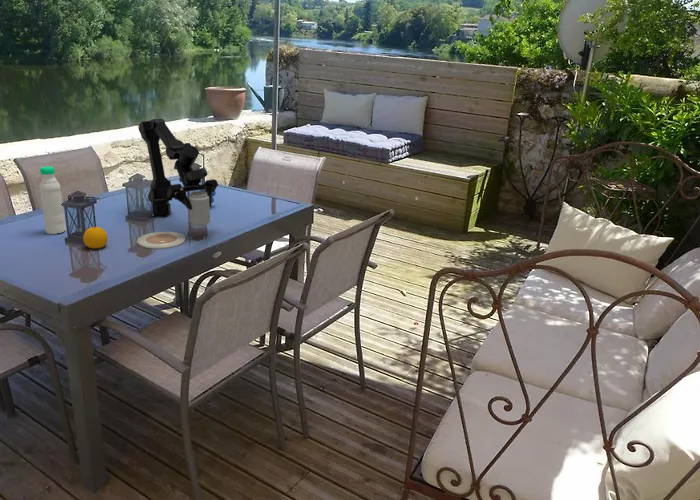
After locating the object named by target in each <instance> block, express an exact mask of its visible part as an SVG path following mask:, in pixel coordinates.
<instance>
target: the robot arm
mask: <svg viewBox="0 0 700 500" xmlns="http://www.w3.org/2000/svg"><path fill="white" fill-rule="evenodd" d="M138 131H139V133H140V137H141V139H142V140H143V141H144V142H145V143H146V148H147V151H148V157H149V163H150V168H151V173H152V180H151V183H150V190H149V192H148V194H147V199H148V201H149V202H150V203H151V206H152V207H151V208H152V214H154V216H153V217H161V218H163V217H165V218H166V217H168V216H169V215H171V213H172V209H171V207H172V206H171V203H170V201H173V199H174V200H177V201H179V202H180V203H181V204H183V205H184V206H185V207H186V208H187V209H188V210H189V209H190V210H192V206H191V204H190V202H189V196H188V195H187V192H196V191H200V190H202V189H203V191H204V192H206V193H207V195H208V196H209V204H210V208H211V207H212V203H211V192H214V191H215V192H216V189H217V188H218V186H219V183H218V181H217V179H206V180H205V182H204V183H202V184H201V182H202V179H205V177H207V176H208V171H207V168H206V167H200V168H199V169H198V170H197V169H196V170H195V169H193V167H192V166H193V165H194V164H195V162H196V161H197V159H198V157H199V154H200V152H199V149H198V148H197V147H196V146H194V145H192V144H191V142H185V143H184V142H183V141H182V140H180V139H177V138H176V137H175V135H174V134H173V133H172V131H171V130H170V128H169V127H168V125H167V124H166V120H165V119H163V118H152V119H150V120H143V121H142V120H141V121H140V124H138ZM160 140H161V142H162V143H163V145H164V146H165V151H164V152H165V154H166V157H167V158H168V159H169V160H170V161H171V160H172V161H173V160H174V161H175V162H174V166H173V169H174V170H176V172H177V174H178V177H179V179H178V180H179V183H175V184H172V182H171V180H170V179H167V177H166V175H165V169H164V163H163V158H162V151H161V147H160ZM181 183H182V184H181Z"/></svg>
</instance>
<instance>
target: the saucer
mask: <svg viewBox="0 0 700 500" xmlns="http://www.w3.org/2000/svg"><path fill="white" fill-rule="evenodd" d="M185 242H186V236H185V235H184V234H182V233H179V232H174V231H156V232H150V233H147V234H143V235H141V236H140V237H138V238H137V242H136V243H137V245H138V246H140V247H141V246H142V248H144V247H145V249H152V250H154V249H155V250H161V249H163V250H164V249H172V248H175V247H178V246H180V245H183V244H184V243H185ZM171 247H172V248H171Z"/></svg>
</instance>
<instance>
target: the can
mask: <svg viewBox="0 0 700 500" xmlns="http://www.w3.org/2000/svg"><path fill="white" fill-rule="evenodd" d="M188 199H189V202H190V204H191V206H192V210H190V209H189V208H188V211H189V213H188V215H189V223H190V224H191V225H193V226H195V227H204V226H208V225H209V223H211V211H210V210H211V207H210V204H209V196H208V195H207V193H206V192H201V191H200V190H196V191H191V192H190V193H189V196H188Z"/></svg>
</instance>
